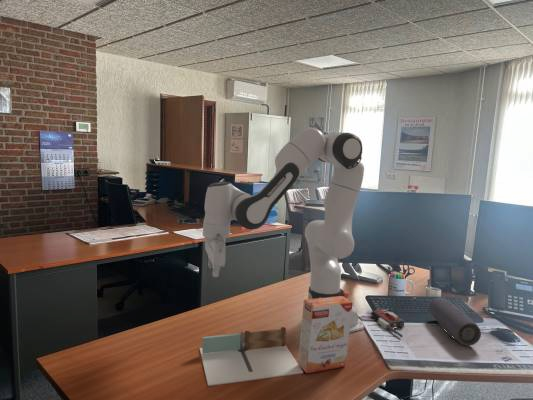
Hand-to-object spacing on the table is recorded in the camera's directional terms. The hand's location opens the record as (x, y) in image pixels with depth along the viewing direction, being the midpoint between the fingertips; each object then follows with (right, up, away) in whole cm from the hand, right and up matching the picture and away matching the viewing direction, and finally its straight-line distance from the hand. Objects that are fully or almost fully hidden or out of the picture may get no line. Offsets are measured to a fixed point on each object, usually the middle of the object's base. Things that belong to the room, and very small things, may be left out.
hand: (213, 271), depth 128 cm
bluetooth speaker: (+86, -26, +15) cm, 92 cm away
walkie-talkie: (+65, -25, +19) cm, 73 cm away
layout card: (+12, -26, -9) cm, 30 cm away
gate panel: (+4, -24, -5) cm, 25 cm away
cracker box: (+35, -27, -11) cm, 45 cm away
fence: (+17, -25, -1) cm, 30 cm away
